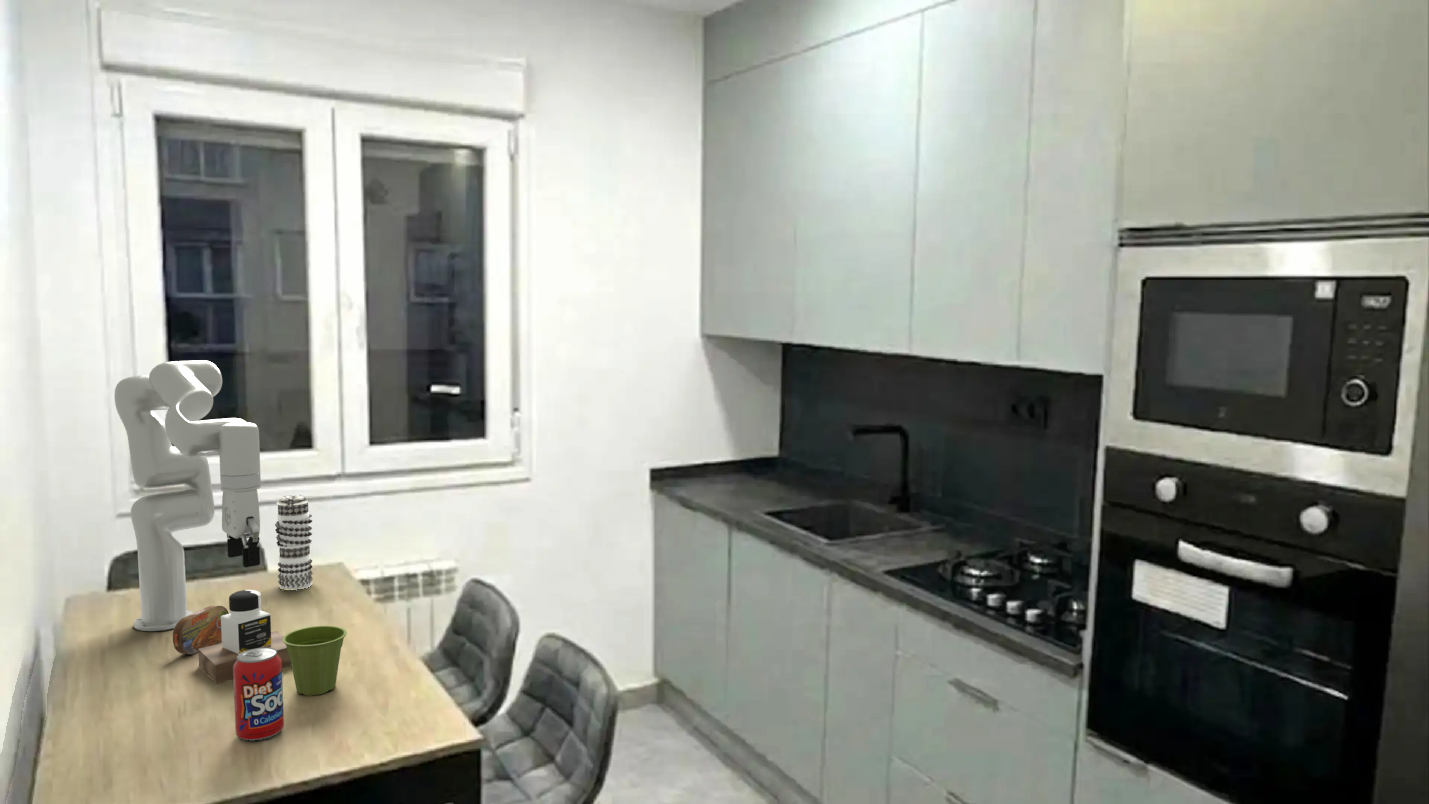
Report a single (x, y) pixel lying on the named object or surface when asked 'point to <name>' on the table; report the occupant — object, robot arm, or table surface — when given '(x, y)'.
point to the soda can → (258, 694)
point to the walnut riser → (233, 659)
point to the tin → (199, 630)
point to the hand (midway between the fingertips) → (243, 561)
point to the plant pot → (315, 657)
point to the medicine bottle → (245, 623)
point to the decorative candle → (294, 542)
